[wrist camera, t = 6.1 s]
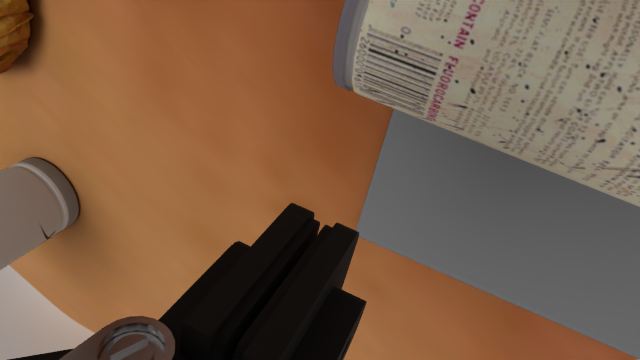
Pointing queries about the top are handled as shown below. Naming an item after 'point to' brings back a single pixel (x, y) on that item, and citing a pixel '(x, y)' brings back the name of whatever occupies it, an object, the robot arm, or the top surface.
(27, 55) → the top surface
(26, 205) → the travel mug
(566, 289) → the mat
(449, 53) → the aerosol can
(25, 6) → the croissant
